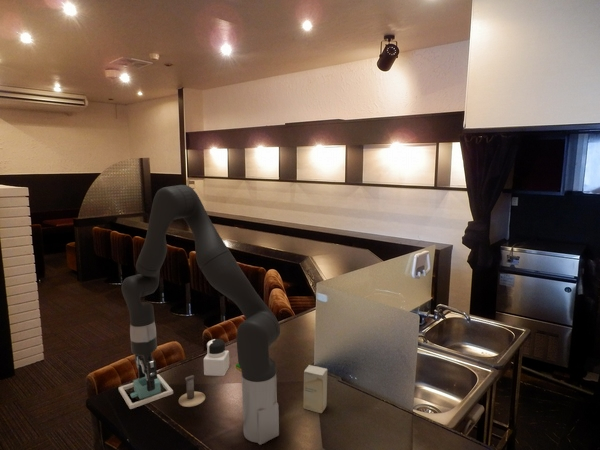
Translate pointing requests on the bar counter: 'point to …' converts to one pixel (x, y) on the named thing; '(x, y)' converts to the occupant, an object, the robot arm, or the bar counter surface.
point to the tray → (147, 400)
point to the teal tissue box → (144, 388)
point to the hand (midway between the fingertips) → (146, 384)
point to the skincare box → (315, 388)
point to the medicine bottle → (216, 358)
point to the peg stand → (191, 394)
